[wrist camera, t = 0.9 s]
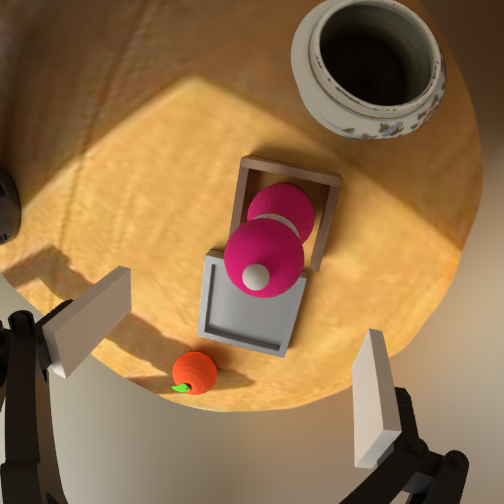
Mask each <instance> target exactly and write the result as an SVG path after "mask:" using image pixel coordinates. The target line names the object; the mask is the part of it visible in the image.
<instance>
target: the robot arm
mask: <svg viewBox="0 0 504 504" xmlns="http://www.w3.org/2000/svg"><path fill="white" fill-rule="evenodd" d="M19 227H20V205H19V200H18V196H17V192H16V190H15V187H14V185H13V183H12V181H11V179H10V178H9V176H8V175H7V174H6V173H5V172H4V171H3V170H1V169H0V245H4V244H6V243H8V242H10V241H12V240H13V239H14V238H15V237H16V235H17V233H18V231H19ZM130 311H131V269H129V268H126V267H123V266H118V267H117V268H115V269H114V270H113V271H111V272H110V273H109V274H108V275H106V276H105V277H104V278H102V279H101V280H100V281H98V282H97V283H96V284H95V285H93V286H92V287H91V288H89V289H88V290H87V291H86V292H84V293H83V294H82V295H80V296H79V297H78V298H77V299H75V300H72V299H70V300H67V301H64V302H62V303H61V304H59V305H58V306H57V307H55V309H53V310H52V311H50V313H48V314H47V315H45V316H44V317H43V318H42V319H40V320H39V321H38V322H37V323H36V324H35V322H34V318H33V314H32V313H31V312H29V311H27V310H20V311H16V312H14V313H12V314H11V315H10V316H9V318H8V322H9V325H10V329H11V330H10V329H5V328H3V324H2V321H1V320H0V412H1V408H2V405H3V402H4V399H5V396H6V399H5V455H6V456H5V457H6V460H5V463H3V464H1V466H0V477H1V488H2V497H3V504H68V502H67V500H66V498H65V495H64V492H63V489H62V484H61V479H60V474H59V468H58V462H57V456H56V450H55V442H54V435H53V426H52V416H51V405H50V390H49V372H48V369H47V368H48V367H49V366H50V365H51V364H52V366H53V369H54V372H55V373H56V374H58V375H60V376H62V377H64V378H67V377H68V376H69V375H70V374H71V373H72V372H73V371H74V370H75V369H76V368H77V367H78V365H79V364H80V363H81V362H82V361H83V360H84V359H85V358H86V357H87V356H88V355H89V354H90V353H91V352H92V350H93V349H94V348H95V347H96V346H97V345H98V344H99V343H100V342H101V341H102V340H103V339H104V338H105V337H106V336H107V335H108V334H109V332H110V331H111V330H112V329H113V328H114V327H115V326H116V325H117V324H118V323H119V322H120V321H121V320H122V319H123V318H124V317H125V316H126V315H127V314H128V313H129V312H130ZM352 383H353V404H354V434H355V436H354V439H355V467H362V468H372V467H373V466H374V464H375V463H376V462H377V465H378V467H377V469H376V470H375V471H374V472H373V473H372V474H371V475H370V476H368V478H367V479H365V481H363V482H362V483H361V484H360V485H359V486H358V487H357V488H356V489H355V490H354V491H353V492H351V493H350V494H349V495H348V496H347V497H346V498H345V499H344V500H343V501H341V502H340V503H339V504H390V502H391V501H392V500H393V499H394V498H395V497H396V495H398V493H399V492H400V491H401V490H402V491H405V492H408V493H410V495H409V497H408V499H407V501H406V503H405V504H459V503H460V500H461V496H462V493H463V489H464V485H465V481H466V477H467V473H468V468H469V461H468V459H467V457H466V456H465V455H464V454H463V453H462V452H460V451H457V450H452V451H449V452H448V453H447V454H446V455H445V456H443V455H440V454H437V453H434V452H431V451H429V449H428V446H427V444H426V443H425V442H424V441H423V440H422V439H420V438H419V436H418V431H417V426H416V420H415V415H414V414H413V413H414V411H413V407H412V401H411V397H410V395H409V394H408V392H407V391H406V389H405V388H399V387H394V384H393V379H392V374H391V369H390V364H389V359H388V354H387V350H386V345H385V341H384V336H383V332H382V331H379V330H374V329H368V332H367V334H366V337H365V339H364V341H363V343H362V346H361V348H360V350H359V353H358V355H357V357H356V359H355V361H354V364H353V366H352Z"/></svg>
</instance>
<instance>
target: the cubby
mask: <svg viewBox="0 0 504 504" xmlns="http://www.w3.org/2000/svg"><path fill="white" fill-rule="evenodd" d="M254 169H256V170H261V171H266V172H271V173H276V174H281V175H286V176H291V177H295V178H300V179H304V180H309V181H313V182H318V183H322V184H326V185H329V186H328V190H327V195H326V199H325V203H324V208H323V212H322V216H321V220H320V225H319V229H318V233H317V237H316V241H315V245H314V249H313V253H312V257H311V267H310V270H315V271H319V268H320V265H321V261H322V257H323V254H324V250H325V246H326V242H327V238H328V235H329V231H330V227H331V223H332V219H333V215H334V211H335V206H336V202H337V198H338V194H339V190H340V185H341V181H342V178H341V176H340V174H336V173H331V172H327V171H323V170H318V169H314V168H310V167H305V166H300V165H296V164H291V163H286V162H281V161H276V160H271V159H266V158H261V157H255V156H250V155H247V156H244V157H241V162H240V169H239V175H238V181H237V188H236V194H235V200H234V207H233V213H232V220H231V227H230V233H229V238H230V236H231V234H232V233H233V232H234V231H235V230H236V229H237V228H238V227H239V226H240V225H242V224H243V223H245V220H246V214H247V208H248V202H249V196H250V190H251V184H252V178H253V172H254Z"/></svg>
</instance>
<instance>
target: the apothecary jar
mask: <svg viewBox="0 0 504 504" xmlns="http://www.w3.org/2000/svg"><path fill="white" fill-rule="evenodd" d="M291 65H292V70H293V74H294V78H295V80H296V83H297V85H298V88H299V92H300V95H301V98H302V100H303V102H304V104H305V106H306V108H307V109H308V111H309V112H310V113H311V115H312V116H313V117H314V118H315V119H316V120H317V121H318V122H319V123H320V124H321V125H323V126H324V127H326V128H327V129H329V130H330V131H332V132H334V133H336V134H338V135H341V136H343V137H347V138H351V139H358V140H367V139H388V138H394V137H399V136H403V135H405V134H408V133H410V132H412V131H414V130H416V129H418V128H419V127H421V126H422V125H423V124H425V123H426V122H427V121H428V120H429V119H430V118H431V117H432V115H433V114H434V113H435V111H436V110H437V108H438V106H439V104H440V102H441V100H442V97H443V94H444V90H445V84H446V67H445V62H444V58H443V54H442V51H441V49H440V46H439V44H438V42H437V40H436V38H435V37H434V35H433V34H432V32H431V31H430V29H429V28H428V26H427V25H426V24H425V22H424V21H423V20H422V19H421V18H420V17H419V16H418V15H417V14H416V13H414V12H413V11H412V10H410V9H409V8H407V7H406V6H404V5H402V4H400V3H398V2H396V1H394V0H326V1H324V2H322V3H321V4H319V5H318V6H316V7H315V8H314V9H313V10H311V11H310V12H309V13H308V14H307V15H306V17H305V18H304V19H303V20H302V22H301V23H300V25H299V27H298V29H297V31H296V33H295V36H294V39H293V42H292V47H291Z"/></svg>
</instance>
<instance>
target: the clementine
mask: <svg viewBox="0 0 504 504" xmlns="http://www.w3.org/2000/svg"><path fill="white" fill-rule="evenodd" d="M173 378H174V381H175V383H176V385H177V386H174V387H172V383H171V387H172V388H173V389H174V390H176V391H179V392H186V393H188V394H191V395H199V394H203V393H206V392H207V391H209V390H210V389H211V388H212V387H213V385H214V384H215V382H216V378H217V370H216V366H215V364H214V362H213V361H212V360H211V359H210V357H208V356H207V355H205V354H203V353H200V352H188V353H186V354H184V355H182V356H180V357H179V358H178V360H177V361H176V362H175V364H174V367H173Z"/></svg>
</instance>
